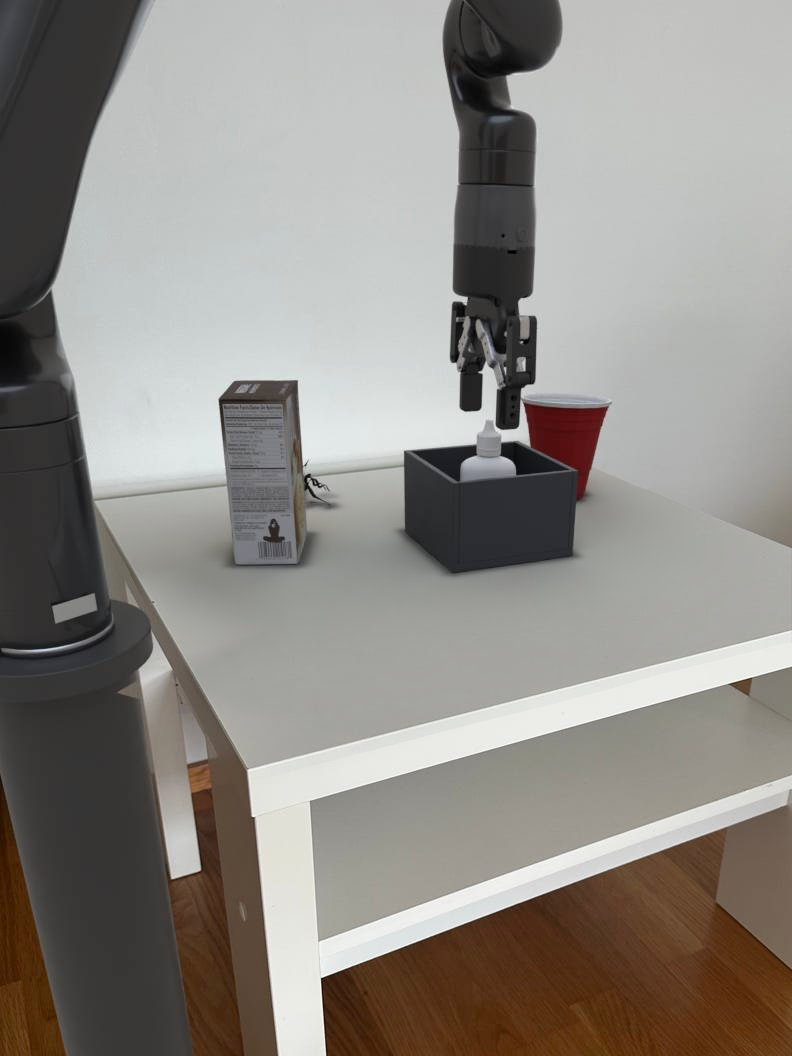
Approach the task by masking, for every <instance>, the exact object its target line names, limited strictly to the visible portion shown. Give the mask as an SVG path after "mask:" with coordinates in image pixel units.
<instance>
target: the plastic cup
mask: <svg viewBox="0 0 792 1056" xmlns="http://www.w3.org/2000/svg"><path fill="white" fill-rule="evenodd" d="M521 402H522V404H523V407H524V413H525V416H526V417H525V418H526V423H527V428H528V429H527V431H528V437H529V438H528V439H529V447H531V448H533V449H535V450H537V451H539V452H541V453H543V454H545V455H547V456H549V457H551V458H553V459H555V460H557V461H559V462H561V463H563V464H565V465H567V466H569V467H571V468H573V469H575V470H577V471H578V483H577V497H576V501H577V500H581V499H582V498H583V497H584V494H585V492H586V490H587V486H588V481H589V477H590V472H591V470H592V467H593V463H594V459H595V455H596V452H597V451H596V450H597V447H598V442H599V438H600V434H601V430H602V427H603V425H604V421H605V418H606V416H607V412H608V410H609V409H610V406H611V405H613V400H612V399H611V398H607V397H602V396H597V395H589V394H580V393H579V394H577V393H557V392H555V393H554V392H543V393H542V392H540V393H538V392H536V393H525V394H521Z"/></svg>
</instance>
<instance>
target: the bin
mask: <svg viewBox="0 0 792 1056" xmlns="http://www.w3.org/2000/svg"><path fill="white" fill-rule="evenodd" d="M477 455H478V454H477V443H473V444H463V445H462V444H461V445H452V446H439V447H428V448H427V447H426V448H417V449H406V450H403V478H404V479H403V486H404V488H403V491H404V493H403V494H404V532H405V533H406V534H407V535H409V536H410V537H411V538H412V539H413V540H414V541H416V542H417V543H418V544H419V545H420V546H421V547H422V548H424V549H425V550H426V551H427V552H428V553H429V554H430V555H432V556H433V557H434V558H435V559H436V560H438V561H439V562H440V563H441V564H442V565H443V566H444V567H446V568H447V570H449V571H450V572H452V573H453V574H454V573H455V574H456V573H462V572H469V571H475V570H483V569H488V568H490V569H491V568H496V567H503V566H510V565H519V564H524V563H531V562H538V561H539V562H540V561H545V560H553V559H558V558H559V559H560V558H566V557H573V554H574V549H573V548H574V538H575V524H576V511H577V500H576V497H577V483H578V471H577V470H575V469H573V468H571V467H569V466H567V465H565V464H563V463H561V462H559V461H557V460H555V459H553V458H551V457H549V456H547V455H545V454H543V453H541V452H539V451H537V450H535V449H533V448H531V447H530V445H528V444H526V443H523V442H522V441H520V440H510V441H501V454H500V456H502V457H505V458H507V459H509V460H511V461H512V462H513V463H514V465H515V468H516V476H507V477H497V478H487V479H477V480H468V481H460V469H461V464H462V463H463V462H464V461H465V460H466V459H468V458H471V457H474V456H477Z"/></svg>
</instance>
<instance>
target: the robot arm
mask: <svg viewBox="0 0 792 1056" xmlns="http://www.w3.org/2000/svg"><path fill="white" fill-rule="evenodd" d="M155 2H156V0H0V657H9V658H16V659H41V658H51V657H57V656H63V655H67V654H71V653H75V652H78V651H81V650H84V649H87V648H90V647H92V646H94V645H96V644H98V643H100V642H102V641H103V640H105V639H106V638H107V637H108V636H110V635H111V633H112V632H113V631H114V628H115V622H114V616H113V613H112V612H111V601H110V599H111V598H110V594H109V588H108V587H109V586H108V581H107V575H106V574H107V573H106V568H105V561H104V556H103V555H104V554H103V550H102V543H101V537H100V531H99V524H98V518H97V513H96V506H95V499H94V494H93V488H92V482H91V475H90V469H89V462H88V457H87V450H86V444H85V438H84V437H85V436H84V431H83V424H82V419H81V413H80V404H79V400H78V399H79V398H78V393H77V386H76V382H75V377H74V374H73V371H72V369H71V366H70V363H69V360H68V357H67V355H66V351H65V347H64V343H63V341H62V337H61V331H60V326H59V320H58V316H57V310H56V309H57V308H56V303H55V298H54V293H53V287H54V285H55V283H56V281H57V279H58V276H59V273H60V270H61V266H62V262H63V259H64V255H65V251H66V250H65V249H66V246H67V242H68V237H69V233H70V228H71V224H72V220H73V215H74V211H75V207H76V204H77V198H78V195H79V193H80V192H79V191H80V188H81V184H82V180H83V176H84V172H85V169H86V166H87V165H86V164H87V160H88V157H89V154H90V151H91V148H92V144H93V141H94V138H95V136H96V133H97V130H98V128H99V125H100V122H101V120H102V118H103V115H104V113H105V111H106V109H107V107H108V105H109V104H110V101H111V99H112V97H113V95H114V93H115V91H116V90H117V88H118V86H119V83H120V81H121V79H122V77H123V74H124V73H125V71H126V68H127V66H128V64H129V61H130V60H131V56H132V55H133V53H134V50H135V48H136V46H137V43H138V41H139V39H140V36H141V34H142V32H143V29H144V27H145V25H146V22H147V20H148V18H149V16H150V14H151V11H152V9H153V7H154V4H155ZM563 26H564V22H563V13H562V7H561V4H560V1H559V0H450V1H449V3H448V5H447V8H446V11H445V15H444V19H443V24H442V31H441V32H442V33H441V45H442V48H441V49H442V56H443V57H442V58H443V62H444V63H443V64H444V67H445V68H444V69H445V73H446V79H447V84H448V90H449V95H450V101H451V107H452V110H453V114H454V118H455V122H456V128H457V133H458V140H457V165H456V167H457V168H456V169H457V172H456V183H457V185H456V192H455V193H456V195H455V201H454V208H453V235H452V236H453V240H452V241H453V242H452V243H453V244H452V292H453V293H454V294H455V295H457V296H459V297H463V298H467V299H466V300H462V301H461V300H459V301H457V300H456V301H455V300H454V301H452V303H451V315H450V316H451V317H450V339H449V340H450V341H449V361H450V363H451V364H456V371H457V372H458V373H459V404H458V405H459V409H460V410H461V411H463V412H465V413H471V412H479V411H481V410H482V407H483V384H484V383H483V381H484V379H483V377H484V373H481V372H483V371H484V367H485V365H487V366H488V368H490V369H492V370H493V372H494V377H495V381H496V385H497V388H496V399H495V424H494V426H495V427H496V428H497V429H498V430H500V431H508V430H517V429H518V428H519V427H520V423H521V402H522V401H521V395H522V389H525V388H526V386H530V385H531V386H532V385H535V383H536V381H537V380H536V379H537V378H536V377H537V347H538V346H537V344H538V343H537V342H538V341H537V339H538V318H537V316H536V315H527V314H524V315H520V305H519V303H520V300H521V299H528V298H529V297H531V296H532V295H533V293H534V283H535V282H534V281H535V263H536V242H537V222H538V209H537V208H538V207H537V198H536V197H537V196H536V193H537V192H536V190H537V189H536V186H537V166H538V148H539V147H538V146H539V131H538V124H537V121H536V119H535V117H534V116H533V115H532V114H531V113H529V112H527V111H525V110H522V109H519V108H516V107H514V106H513V103H512V98H511V94H510V89H509V81H508V77H509V76H510V77H511V76H518V75H519V76H520V75H527V74H533V73H535V72H538V71H541V70H542V69H544V68H545V67H547V66H548V65H549V64H550V63H551V62H552V61H553V60H554V59H555V57H556V55H557V53H558V51H559V49H560V47H561V43H562V39H563V30H564V29H563V28H564V27H563ZM524 361H525V363H524ZM523 363H524V364H525V366H523ZM524 368H525V369H524Z"/></svg>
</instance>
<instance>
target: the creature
mask: <svg viewBox="0 0 792 1056" xmlns="http://www.w3.org/2000/svg"><path fill="white" fill-rule="evenodd" d="M309 461H310V459H308V460H307V461H306V462H305V464H303V468H304V470H306V469H307V468H306V467H307V465H308V462H309ZM305 473H306V471H303V474H305ZM308 479H309V480H308ZM310 482H311V484H312V486H313V487H317V488H318V489H322V488H323V489H324V490H325V491H328V492H331V489H329V487H328V485H326V484H323V483H322V482H319V480H318V479H317V478H314V477H312V473H310V472H309V473H307V474H305V475H304V490H305V492H306V491H308V492H309V494H310V496H311V497H312V498H314V499H316V500H319V501H321V502H322V504H323V505H326V504H327V505H329V506H331V504H330V503H329V502H327V501H325V500H324V499H322V498H321V497H319V496H318V495H317V494H315V492H314V491H313V489H312V487H311V486H310ZM314 503H315V504H316V503H317V504H320V502H318V501H317V502H316V501H310V504H314ZM305 505H307V503H306V502H305Z"/></svg>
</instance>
